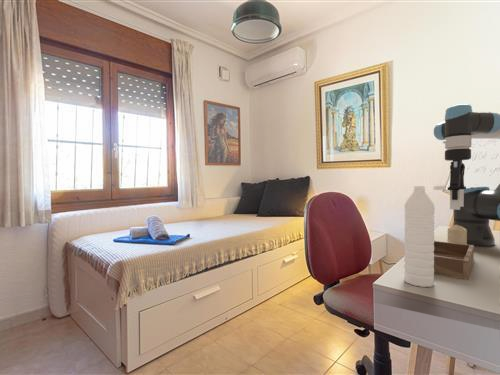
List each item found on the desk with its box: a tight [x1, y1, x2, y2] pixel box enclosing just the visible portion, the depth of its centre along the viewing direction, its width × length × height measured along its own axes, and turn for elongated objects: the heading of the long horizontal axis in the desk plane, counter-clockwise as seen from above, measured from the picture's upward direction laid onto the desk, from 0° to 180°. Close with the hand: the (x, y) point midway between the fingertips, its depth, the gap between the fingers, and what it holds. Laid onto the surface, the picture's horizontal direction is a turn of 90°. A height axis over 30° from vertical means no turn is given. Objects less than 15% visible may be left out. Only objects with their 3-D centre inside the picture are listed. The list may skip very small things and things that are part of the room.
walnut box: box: [433, 240, 475, 281], centre depth 83 cm, size 23×12×5 cm, turn 137°
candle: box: [447, 224, 467, 245], centre depth 97 cm, size 6×6×10 cm
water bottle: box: [403, 185, 447, 288], centre depth 68 cm, size 9×6×25 cm
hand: (457, 208), depth 97 cm, fingers open, 13 cm apart
